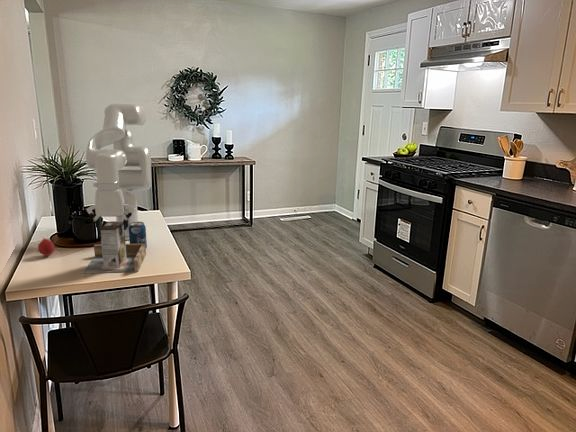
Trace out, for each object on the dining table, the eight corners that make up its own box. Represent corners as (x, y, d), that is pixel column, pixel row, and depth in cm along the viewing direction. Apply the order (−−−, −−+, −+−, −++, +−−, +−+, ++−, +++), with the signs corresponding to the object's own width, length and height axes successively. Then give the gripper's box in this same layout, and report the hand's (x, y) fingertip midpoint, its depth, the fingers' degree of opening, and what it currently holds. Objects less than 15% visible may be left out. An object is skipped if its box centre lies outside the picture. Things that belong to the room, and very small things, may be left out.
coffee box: (111, 259, 172) (107, 221, 167) (127, 259, 172) (124, 221, 168) (102, 267, 163) (98, 228, 158) (119, 268, 163) (116, 228, 159)
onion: (51, 252, 177) (49, 234, 175) (58, 256, 174) (55, 237, 172) (36, 256, 173) (34, 237, 171) (42, 260, 170) (40, 241, 167)
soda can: (141, 253, 180) (139, 226, 176) (126, 251, 181) (124, 225, 178) (150, 248, 186) (148, 221, 183) (135, 246, 187) (133, 220, 184)
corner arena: (95, 255, 175) (94, 244, 174) (145, 254, 178) (145, 243, 177) (82, 273, 158) (81, 261, 157) (138, 271, 161) (137, 259, 160)
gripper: (81, 188, 154) (86, 232, 159) (130, 188, 157) (134, 232, 162) (87, 183, 161) (91, 226, 166) (134, 183, 164) (137, 225, 169)
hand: (112, 229), depth 164 cm, fingers open, 9 cm apart
